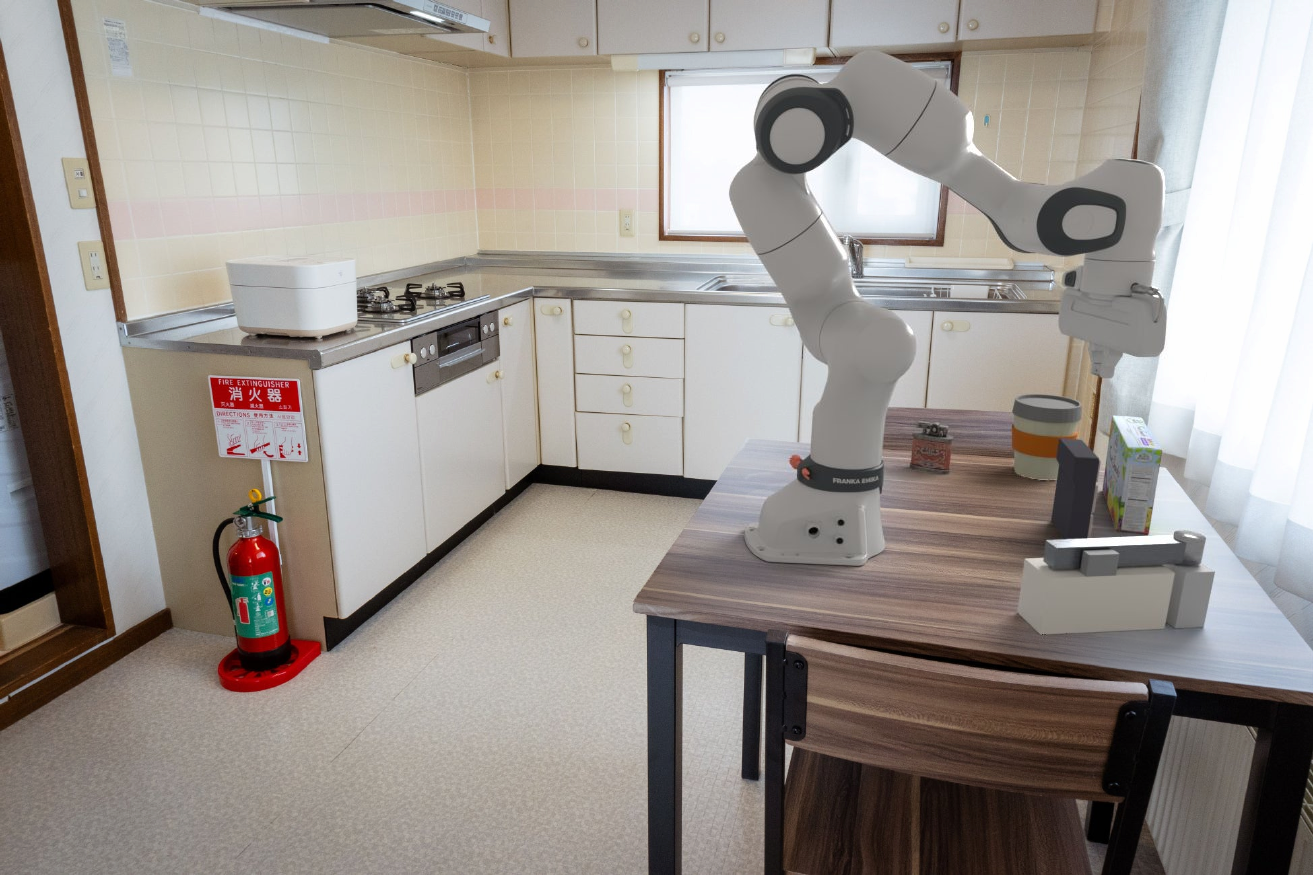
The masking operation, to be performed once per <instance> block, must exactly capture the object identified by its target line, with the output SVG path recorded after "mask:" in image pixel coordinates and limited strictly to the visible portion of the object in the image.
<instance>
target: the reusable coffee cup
mask: <svg viewBox="0 0 1313 875" xmlns="http://www.w3.org/2000/svg"><path fill="white" fill-rule="evenodd" d="M1014 398H1015V399H1014V402H1013V406H1012V411H1011V412H1012V414H1013V423H1012V425H1011V447H1012V449H1013V450H1014V451H1013V452H1014V453H1013V456H1014V462H1013V463H1014V470H1015V471H1014V473H1015V472H1016V473H1019V474H1020V475H1024V476H1026V477H1032V478H1035V479H1048V480H1050V479H1052V480H1053V479H1057V476H1058V469H1059V463H1058V461H1057V460H1056V456H1057V449H1058V442H1059V439H1060V438H1061V439H1078V438H1077V437H1078V433H1079V432H1078V430H1077V429H1078V426H1079V422H1080V421H1081V420H1082V414H1083V412H1082V411H1083V409H1082V408H1083V403H1082V402H1080V401H1079V400H1077V399H1075V398H1070V397H1066V396H1061V395H1056V394H1047V393H1046V394H1045V393H1029V394H1028V393H1027V394H1020V395H1018V396H1016V397H1014ZM1016 473H1015V474H1016ZM1020 475H1019V476H1020Z"/></svg>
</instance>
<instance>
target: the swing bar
mask: <svg viewBox="0 0 1313 875" xmlns="http://www.w3.org/2000/svg"><path fill="white" fill-rule="evenodd" d="M1206 541H1207V538H1206V536H1205V535H1204V534H1201V533H1199V532H1195V531H1191V530H1185V529H1179V530H1175V531H1174V532H1173V534H1169V535H1167V534H1165V535H1143V536H1142V535H1141V536H1121V537H1120V536H1117V537H1116V536H1115V537H1094V538H1093V537H1092V538H1091V537H1090V538H1087V539H1062V538H1061V539H1046V540H1045V546H1044V552H1043V558H1044V559H1043V562H1045V563H1046V564H1047V565H1048V566H1050V567H1051V568H1052V569H1075V568H1081V562H1082V555H1083V551H1086V550H1112V549H1113V550H1114V551H1116V552H1117V553H1119V560H1118V566H1117V567H1122V566H1145V565H1169V564H1185V565H1199V564H1201V563H1202V561H1203V556H1204V550H1205V545H1206Z"/></svg>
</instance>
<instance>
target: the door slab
mask: <svg viewBox="0 0 1313 875" xmlns="http://www.w3.org/2000/svg"><path fill="white" fill-rule="evenodd" d="M1043 559H1044V557H1032V558H1030V557H1029V558H1024V561H1023V570H1022V577H1021V584H1020V590H1019V598H1018V599H1019V600H1018V606H1017V614H1018V615H1019V616H1021V618H1022V619H1024V620H1025V621H1026V622H1027V623H1028V624H1029V626H1031V628H1033V629H1034V630H1035V631H1036V632H1037V633H1038V634H1039V635H1040V636H1041V635H1042V634H1043V635H1044V634H1046V635H1061V634H1062V635H1064V634H1066V633H1067V634H1082V633H1083V634H1085V633H1086V634H1087V633H1102V632H1103V633H1105V632H1106V633H1108V632H1122V631H1123V632H1126V631H1127V632H1128V631H1147V630H1149V631H1150V630H1152V631H1153V630H1164V629H1165V628H1166V627H1165V626H1166V623H1167V622H1166V618H1167V612H1168V607H1169V602H1170V597H1171V591H1172V586H1173V581H1174V576H1175V573H1174V572H1172V571H1171V570H1169V569H1168V568H1166V567H1165V566H1163V565H1145V566H1122V567H1117V566H1118V560H1119V553H1117V552H1116V551H1114V550H1113V549H1112V550H1086V551H1083V555H1082V562H1081V568H1075V569H1052V568H1051V567H1050V566H1048V565H1047V564H1046V563H1045V562H1043Z"/></svg>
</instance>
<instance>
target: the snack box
mask: <svg viewBox="0 0 1313 875" xmlns="http://www.w3.org/2000/svg"><path fill="white" fill-rule="evenodd" d="M1109 429H1110V430H1109V436H1108V443H1107V445H1108V446H1107V450H1106V451H1107V452H1106V460H1105V468H1104V475H1103V483H1102V490H1101V491H1102V493H1103V496H1104V499H1105V502H1106V505H1107V509H1108V510H1109V514H1110V517H1111V521H1112V523H1113V526H1114V529H1115V531H1116V532H1126V533H1133V534H1134V533H1135V534H1144V535H1149V534H1150V529H1151V522H1152V516H1153V511H1154V504H1155V497H1156V491H1157V484H1158V477H1159V473H1160V467H1161V462H1162V461H1161V460H1162V455H1163V449H1162V447H1161V446H1160V445H1159V443H1158V441H1157V440H1156V438H1155V436H1154V434H1152V432H1151V430H1150V429H1149V427H1148V426H1147V425H1146V423H1145V420H1144V419H1143V418H1142V417H1141V416H1140V417H1138V416H1126V415H1111V420H1110V428H1109Z"/></svg>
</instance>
